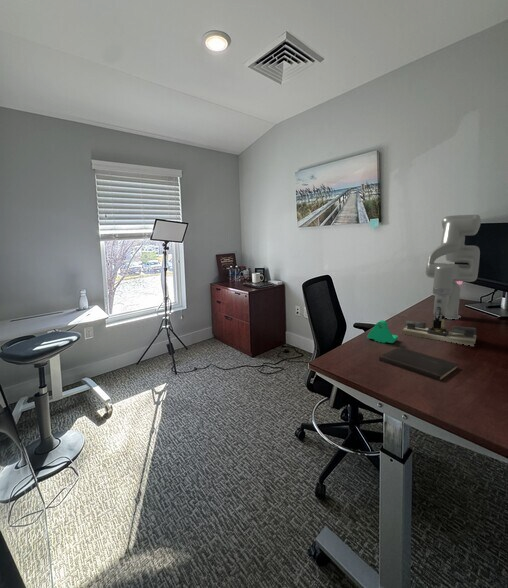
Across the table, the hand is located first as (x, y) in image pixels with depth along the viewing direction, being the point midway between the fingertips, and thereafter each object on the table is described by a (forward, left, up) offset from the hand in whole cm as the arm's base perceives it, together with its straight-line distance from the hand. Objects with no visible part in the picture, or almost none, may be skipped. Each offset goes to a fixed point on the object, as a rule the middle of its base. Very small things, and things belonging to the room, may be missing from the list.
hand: (438, 325), depth 147 cm
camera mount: (+20, -20, -6) cm, 29 cm away
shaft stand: (0, 0, -6) cm, 6 cm away
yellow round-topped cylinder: (0, 0, -4) cm, 4 cm away
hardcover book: (+40, -1, -7) cm, 41 cm away
